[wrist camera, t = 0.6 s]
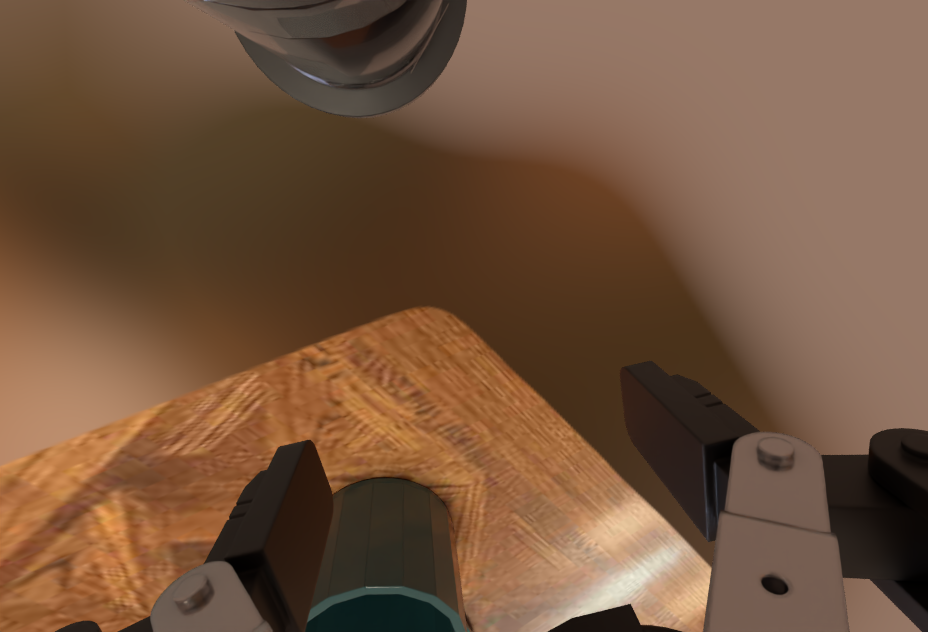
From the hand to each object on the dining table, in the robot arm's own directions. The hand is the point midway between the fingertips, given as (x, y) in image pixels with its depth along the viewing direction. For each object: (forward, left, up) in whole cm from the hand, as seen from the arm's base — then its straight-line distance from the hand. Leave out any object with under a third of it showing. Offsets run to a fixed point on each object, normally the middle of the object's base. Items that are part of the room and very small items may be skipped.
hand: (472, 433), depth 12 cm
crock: (+19, -9, -17) cm, 27 cm away
